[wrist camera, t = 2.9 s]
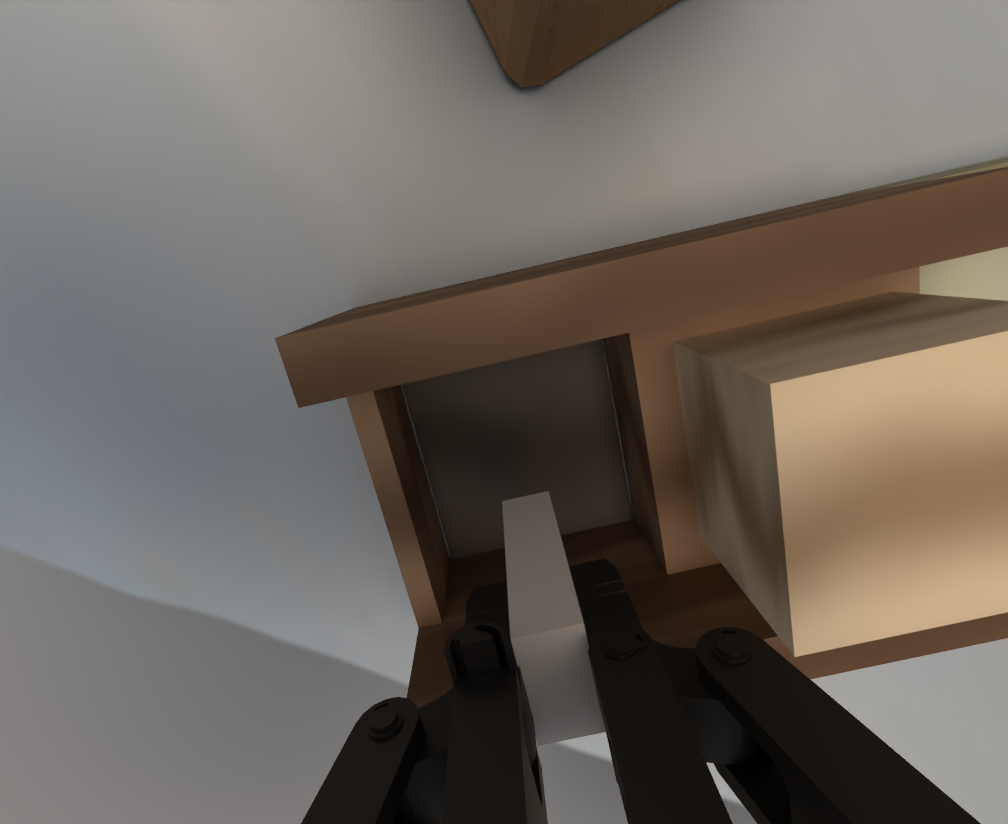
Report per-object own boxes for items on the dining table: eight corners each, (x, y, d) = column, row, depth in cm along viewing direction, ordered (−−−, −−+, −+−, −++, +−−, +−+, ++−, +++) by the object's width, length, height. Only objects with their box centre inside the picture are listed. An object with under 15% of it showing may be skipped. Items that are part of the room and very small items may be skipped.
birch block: (672, 341, 20) (770, 383, 13) (892, 291, 20) (1106, 309, 13) (699, 534, 22) (794, 657, 15) (896, 491, 22) (1082, 596, 15)
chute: (354, 307, 24) (274, 338, 15) (1038, 149, 23) (1400, 78, 14) (440, 596, 28) (419, 760, 19) (1024, 470, 27) (1297, 577, 18)
